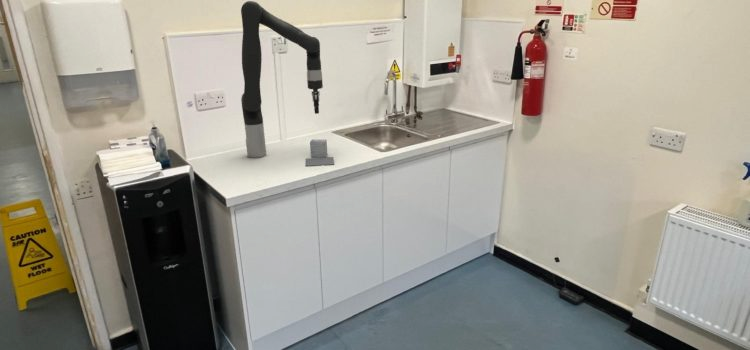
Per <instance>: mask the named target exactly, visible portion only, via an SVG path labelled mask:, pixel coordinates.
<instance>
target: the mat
mask: <svg viewBox="0 0 750 350" xmlns="http://www.w3.org/2000/svg"><path fill="white" fill-rule="evenodd" d="M334 158H335V157H334V156H329V157H324V158H311V157H308V158H307V157H306V158H305V163H304V165H305V167H318V166H319V167H321V166H322V165H324V166H335V160H334Z"/></svg>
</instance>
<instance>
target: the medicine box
mask: <svg viewBox="0 0 750 350" xmlns="http://www.w3.org/2000/svg"><path fill="white" fill-rule="evenodd" d="M327 141H328V140H327V139H324V138H322V139H317V138H316V139H315V138H314V139H311V140H310V142H309V146H310V149H309V150H310V158H324V157H327V156H328V144H327Z"/></svg>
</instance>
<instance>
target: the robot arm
mask: <svg viewBox="0 0 750 350" xmlns="http://www.w3.org/2000/svg"><path fill="white" fill-rule="evenodd" d="M240 15H241V22H242V39H241V41H242V43H241V65H242V66H241V69H242V74H243V81H244V89H243V93H242V95H241V99H240V101H241V109H242V114H243V115H242V116H243V117H242V118H243V124H244V130H245V145H246V154H247V158H253V159H258V158H264V157H265V156H267V147H266V137H265V129H264V117H263V114H262V113H263V112H262V95H261V94H262V93H261V75H262V74H261V73H262V61H263V59H262V55H263V54H262V46H261V45H262V44H261V39H260V38H261V37H260V25H262V26H265V27H267V28H268V29H270V30H272V31H273V32H274V33H276V34H278V35H279V36H281V37H283V38H285V39H286V40H288V41H289V42H292V43H294V44H296V45H297V46H299V47H301V48H302V49H304V50H305V52H306V81H307V83H306V84H307V89H309V90H312V91H311V97H312V102H313V108H314V109H313V110H314V114H316V115H317V114H319V113H320V107H319V106H320V103H319V102H320V93H321V92H320V90H319V89H323V88H324V85H323V73H322V60H321V42H320V40H319V38H317V37H315V36H311V35H309V34H307V33H305V32H304V31H303V30H301V29H300V28H298V27H297V26H295V25H293V24H291V23H289V22H287V21H285V20H283V19H281V18H279V17H277V16H275V15H274V14H273V13H270V12H269V11H267V10H266V9H265V8H264V7H263V6H261V5H260V4H259V3H258V2H257V1H252V0H248V1H245V2H244V3H243V4H242V5H241V9H240ZM318 90H319V91H318Z"/></svg>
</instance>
